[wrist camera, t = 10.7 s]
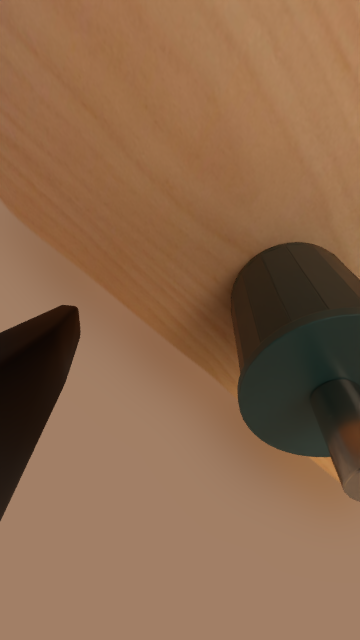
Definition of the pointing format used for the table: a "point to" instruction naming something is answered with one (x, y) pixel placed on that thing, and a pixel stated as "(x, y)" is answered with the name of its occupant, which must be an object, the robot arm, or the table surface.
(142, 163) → the table surface
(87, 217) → the table surface
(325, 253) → the tin
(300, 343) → the tin lid
